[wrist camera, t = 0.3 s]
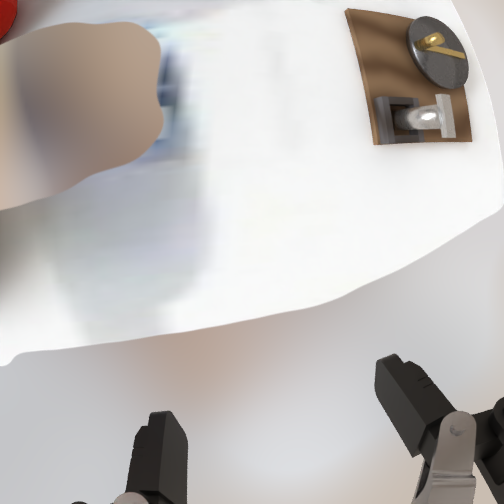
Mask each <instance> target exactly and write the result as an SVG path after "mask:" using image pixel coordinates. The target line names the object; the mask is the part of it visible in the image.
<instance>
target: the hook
mask: <svg viewBox="0 0 504 504" xmlns="http://www.w3.org/2000/svg"><path fill="white" fill-rule="evenodd" d="M435 96H436V101H437V104H436V105H428V106H421V107H414V108H408V109H401V110H396V111H391V117H392V123H393V130H396V131H399V130H418V129H441V134H442V138H456V133H455V125H454V118H453V111H452V105H451V100H450V95H447V94H437V95H435Z"/></svg>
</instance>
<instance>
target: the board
mask: <svg viewBox="0 0 504 504" xmlns="http://www.w3.org/2000/svg"><path fill="white" fill-rule="evenodd" d="M344 12H345V15H346V18H347V22H348V25H349V28H350V32H351V35H352V39H353V43H354V46H355V50H356V54H357V58H358V62H359V67H360V71H361V75H362V80H363V85H364V90H365V95H366V100H367V105H368V111H369V117H370V123H371V129H372V136H373V143H374V145H382V144H398V143H420V142H472V135H471V127H470V119H469V112H468V106H467V100H466V95H465V90H464V85H463V86H461V87H459V88H456V89H449V90H446V89H441V88H439V87H437V86H435V85H433V84H432V83H430V82H429V81H428V80H427V79H426V78H425V77H424V76H423V75H422V74H421V73H420V71H419V70H418V69H417V67H416V66H415V64H414V62H413V60H412V58H411V56H410V54H409V51H408V48H407V44H406V30H407V27H408V25H409V24H410V23H411V22H412V21H414V20H415V19H410V18H406V17H401V16H396V15H391V14H385V13H379V12H373V11H366V10H358V9H349V8H348V9H347V10H345V11H344ZM437 94H447V95H450V100H451V105H452V111H453V118H454V125H455V133H456V138H442V134H441V129H418V130H399V131H396V130H393V123H392V117H391V111H396V110H401V109H408V108H414V107H421V106H428V105H436V104H437V101H436V96H435V95H437Z"/></svg>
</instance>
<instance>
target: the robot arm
mask: <svg viewBox="0 0 504 504" xmlns="http://www.w3.org/2000/svg"><path fill="white" fill-rule="evenodd" d="M375 392H376V396H377V398H378V400H379V402H380V403H381V405H382V407H383V408H384V410H385V412H386V413H387V415H388V416H389V418H390V420H391V422H392V423H393V425H394V427H395V428H396V430H397V432H398V433H399V435H400V437H401V438H402V440H403V442H404V444H405V446H406V447H407V449H408V450H409V452H410V454H411V456H412V457H415V456H417V455H419V454H422V456H423V457H424V461H423V464H422V468H421V472H420V476H419V480H418V484H417V487H416V491H415V494H414V497H413V500H412V503H411V504H473V499H474V494H475V488H476V478H475V476H473V475H472V469H473V462H475V463H476V465H477V467H478V468H479V470H480V472H481V474H482V476H483V477H484V479H485V481H486V483H487V484H488V486H489V488H490V490H491V492H492V494H493V496H494V498H495V500H496V501H497V503H498V504H504V397H503V398H501V399H500V400H498V401H497V402H496V404H495V406H494V408H493V409H491V410H487V411H484V412H481V413H478V414H473V415H470V414H469V413H467V412H463V411H457V410H456V409H455V408H454V407H453V406H452V404H451V403H450V402H449V401H448V400H447V398H446V397H445V396H444V394H443V393H442V392H441V391H440V390H439V388H438V387H437V386H436V385H435V384H434V383H433V381H432V380H431V379H430V378H429V377H428V375H427V374H426V373H425V372H424V370H423V369H422V368H421V367H420V366H418V365H416V364H415V363H413V362H411V361H408V362H406V363H403V362H402V360H401V359H400V358H399V356H398V355H396V354H392V355H389V356H387V357H384V358H382V359H379V360H377V362H376V373H375ZM133 448H134V449H133V451H132V458H131V462H130V467H129V473H128V480H127V486H126V491H125V493H124V494H121V495H120V496H118V497H117V499H116V500H115V501H114V503H112V504H187V460H188V441H187V437H186V434H185V432H184V430H183V429H182V428H181V426H180V424H179V423H178V421H177V420H176V418H175V417H174V415H173V414H172V412H171V411H162V412H152V413H151V414H150V416H149V422H148V426H142V427H141V428H140V430H139V431H138V433H137V434H136V436H135V440H134V445H133ZM72 504H86V503H84V502H74V503H72Z"/></svg>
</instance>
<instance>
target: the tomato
mask: <svg viewBox="0 0 504 504" xmlns="http://www.w3.org/2000/svg"><path fill="white" fill-rule="evenodd" d="M16 13H17V0H0V39H1V38H2V37H3V36H4V35H5V34H6V33H7V32H8V30H9V29H10V27H11V26H12V23H13V21H14V19H15V16H16Z"/></svg>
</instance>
